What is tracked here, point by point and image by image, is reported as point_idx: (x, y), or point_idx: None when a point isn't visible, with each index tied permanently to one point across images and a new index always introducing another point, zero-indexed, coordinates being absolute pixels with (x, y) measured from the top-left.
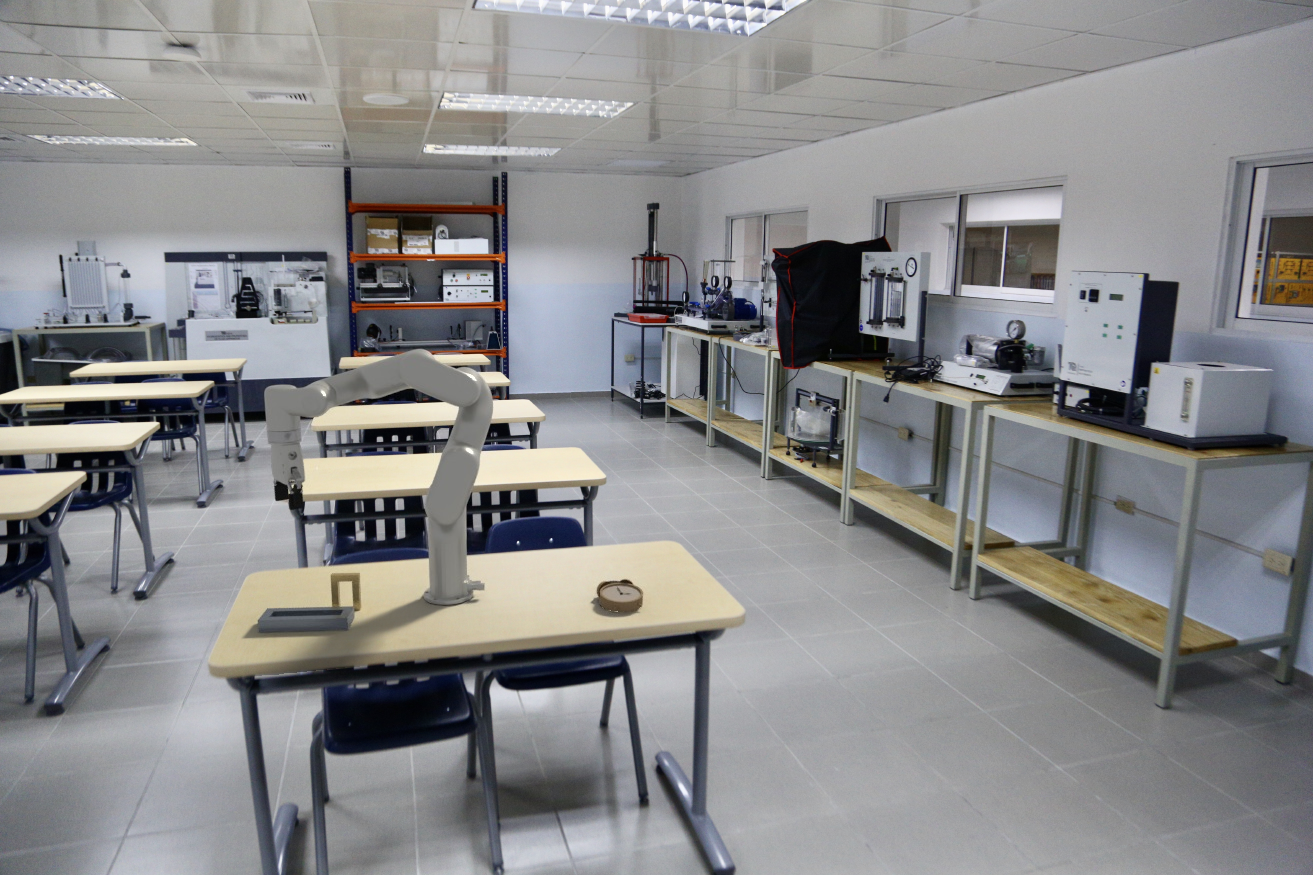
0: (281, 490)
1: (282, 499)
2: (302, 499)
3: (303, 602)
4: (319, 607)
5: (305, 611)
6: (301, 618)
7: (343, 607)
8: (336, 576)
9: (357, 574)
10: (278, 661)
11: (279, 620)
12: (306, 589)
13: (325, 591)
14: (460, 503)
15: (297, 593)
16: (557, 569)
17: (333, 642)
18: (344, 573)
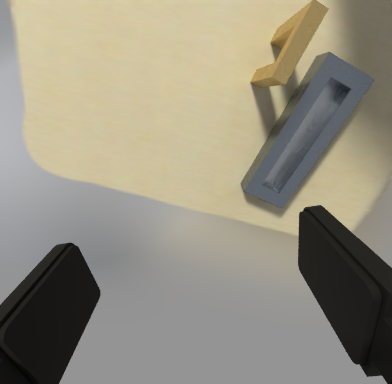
0: (58, 328)
1: (88, 272)
2: (354, 239)
3: (196, 126)
4: (291, 117)
5: (289, 141)
6: (318, 153)
7: (321, 74)
8: (292, 70)
9: (322, 10)
10: (382, 191)
11: (300, 182)
12: (136, 110)
13: (160, 78)
14: None
15: (150, 128)
16: None
17: (384, 114)
18: (292, 45)
